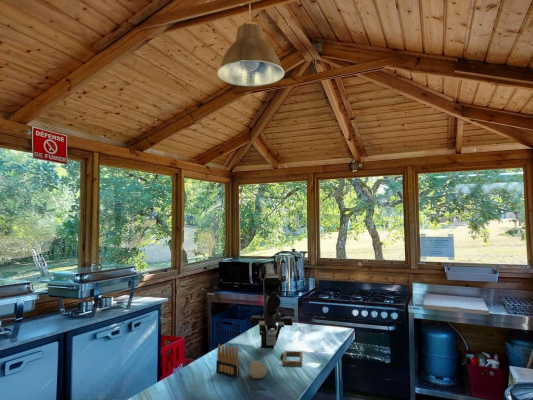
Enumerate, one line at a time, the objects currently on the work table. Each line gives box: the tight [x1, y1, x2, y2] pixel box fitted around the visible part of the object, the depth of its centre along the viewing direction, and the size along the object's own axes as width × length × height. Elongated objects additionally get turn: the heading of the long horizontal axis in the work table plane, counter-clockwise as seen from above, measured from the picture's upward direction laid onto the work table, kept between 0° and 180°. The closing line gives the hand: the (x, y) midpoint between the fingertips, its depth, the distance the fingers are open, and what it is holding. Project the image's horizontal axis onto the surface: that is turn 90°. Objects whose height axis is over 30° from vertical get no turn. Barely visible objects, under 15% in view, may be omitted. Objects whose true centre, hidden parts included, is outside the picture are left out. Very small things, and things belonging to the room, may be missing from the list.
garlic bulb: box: [249, 358, 267, 380], centre depth 150 cm, size 7×6×8 cm
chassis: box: [280, 350, 304, 367], centre depth 171 cm, size 10×14×2 cm
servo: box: [266, 328, 278, 346], centre depth 165 cm, size 4×9×6 cm, turn 173°
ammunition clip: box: [215, 342, 240, 379], centre depth 153 cm, size 11×2×12 cm, turn 59°
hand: (271, 340), depth 165 cm, fingers closed on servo, 4 cm apart
